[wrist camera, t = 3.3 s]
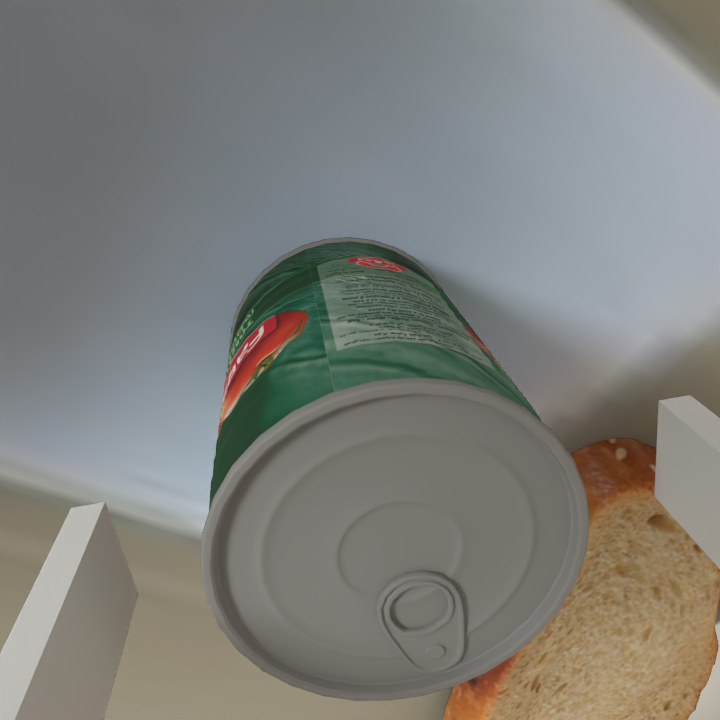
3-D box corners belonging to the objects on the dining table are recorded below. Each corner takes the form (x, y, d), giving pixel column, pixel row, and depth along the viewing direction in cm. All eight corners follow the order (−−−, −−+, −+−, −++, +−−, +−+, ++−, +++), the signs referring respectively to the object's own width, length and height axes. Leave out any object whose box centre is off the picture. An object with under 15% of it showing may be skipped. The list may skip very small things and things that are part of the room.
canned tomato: (193, 282, 22) (126, 466, 12) (422, 204, 21) (555, 322, 11) (277, 473, 25) (283, 745, 15) (476, 406, 25) (615, 635, 15)
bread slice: (642, 400, 26) (699, 450, 23) (788, 647, 33) (847, 713, 30) (282, 634, 29) (284, 711, 25) (490, 817, 36) (513, 896, 32)
